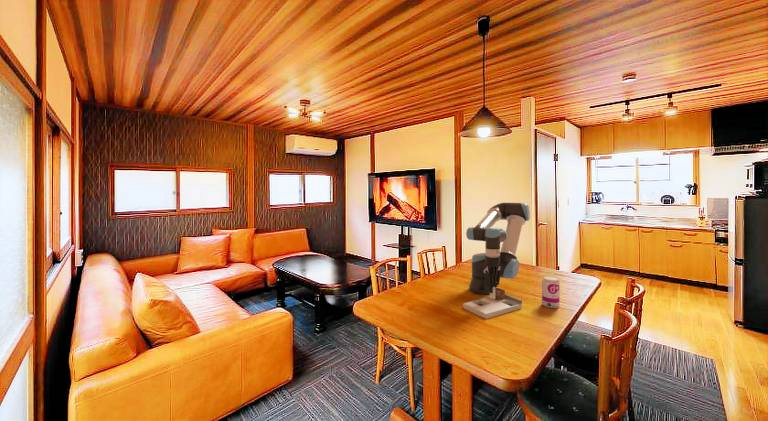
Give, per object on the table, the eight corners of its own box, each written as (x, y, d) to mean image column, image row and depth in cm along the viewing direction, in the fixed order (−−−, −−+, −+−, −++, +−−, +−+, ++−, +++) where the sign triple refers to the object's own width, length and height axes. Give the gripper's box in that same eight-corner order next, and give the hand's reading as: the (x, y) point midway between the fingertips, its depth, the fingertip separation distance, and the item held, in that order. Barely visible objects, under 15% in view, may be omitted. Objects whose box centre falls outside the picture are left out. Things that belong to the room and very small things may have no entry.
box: (486, 318, 149) (486, 310, 149) (463, 307, 163) (463, 299, 163) (521, 308, 161) (521, 300, 161) (497, 299, 175) (497, 291, 175)
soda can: (561, 309, 159) (562, 281, 158) (544, 308, 161) (545, 280, 160) (556, 303, 167) (556, 276, 166) (539, 302, 169) (540, 276, 168)
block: (498, 300, 166) (498, 291, 165) (491, 298, 170) (491, 289, 170) (504, 299, 168) (504, 290, 168) (497, 296, 172) (497, 287, 172)
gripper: (489, 258, 159) (489, 302, 160) (506, 255, 165) (506, 298, 166) (478, 256, 165) (478, 298, 167) (495, 253, 171) (495, 294, 173)
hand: (492, 298), depth 167 cm, fingers closed
